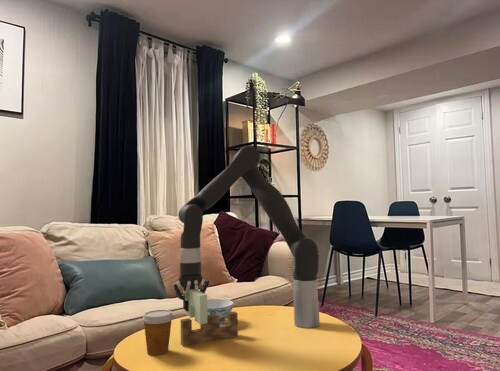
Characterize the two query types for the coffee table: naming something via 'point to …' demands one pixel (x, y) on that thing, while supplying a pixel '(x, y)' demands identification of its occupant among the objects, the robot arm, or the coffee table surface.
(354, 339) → the coffee table surface
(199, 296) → the cross piece
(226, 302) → the chinaware
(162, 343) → the disposable coffee cup
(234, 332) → the rail
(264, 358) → the coffee table surface
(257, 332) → the coffee table surface
